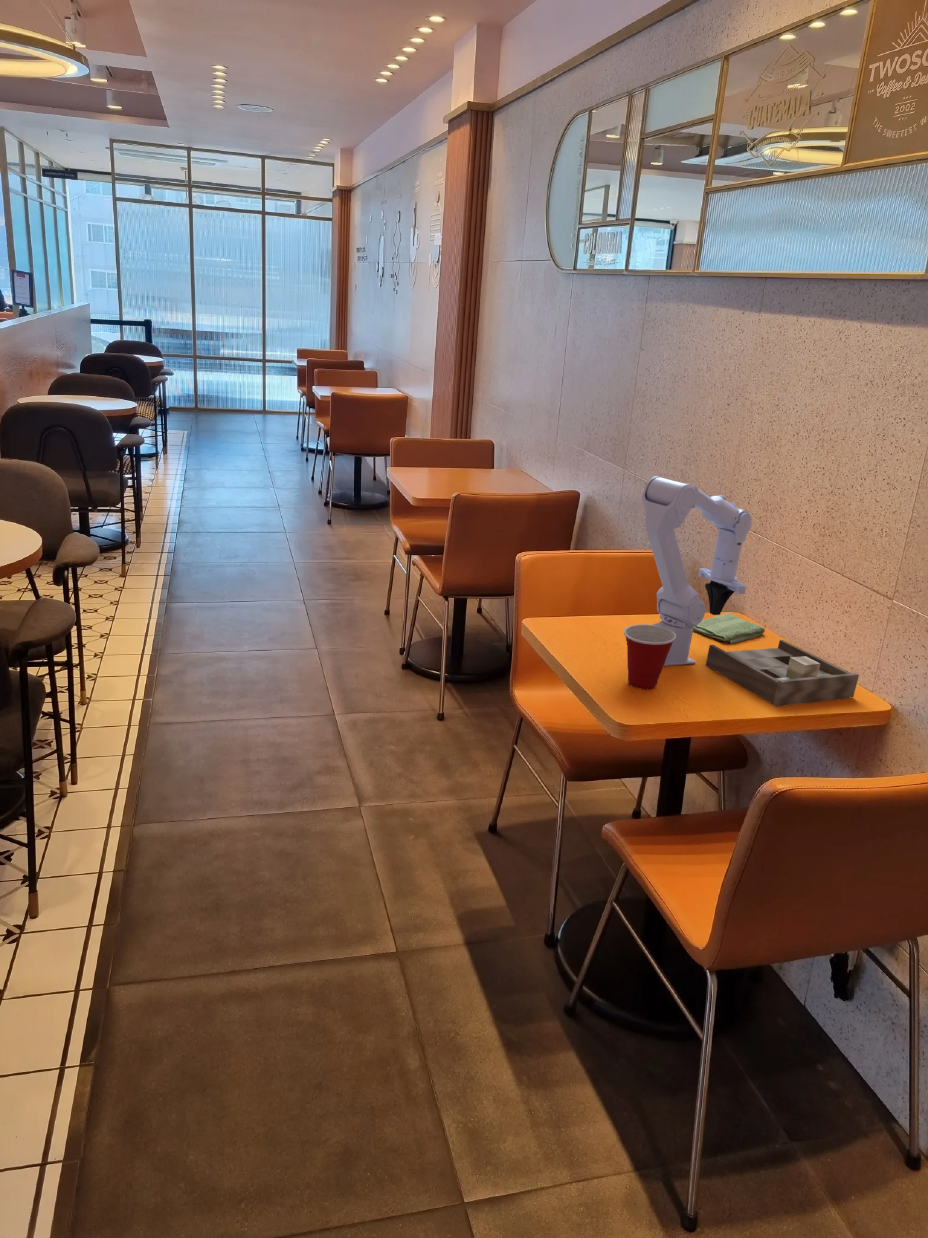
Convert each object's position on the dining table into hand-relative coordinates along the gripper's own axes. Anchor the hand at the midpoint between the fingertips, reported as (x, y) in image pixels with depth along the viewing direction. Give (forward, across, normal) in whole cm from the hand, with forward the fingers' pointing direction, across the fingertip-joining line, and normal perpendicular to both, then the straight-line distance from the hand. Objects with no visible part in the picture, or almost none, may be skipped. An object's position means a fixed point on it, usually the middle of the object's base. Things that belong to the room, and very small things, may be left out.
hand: (714, 614), depth 213 cm
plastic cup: (+10, -15, +30) cm, 35 cm away
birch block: (+6, -26, -4) cm, 27 cm away
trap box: (+9, -19, -4) cm, 22 cm away
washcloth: (+10, +11, -15) cm, 21 cm away
